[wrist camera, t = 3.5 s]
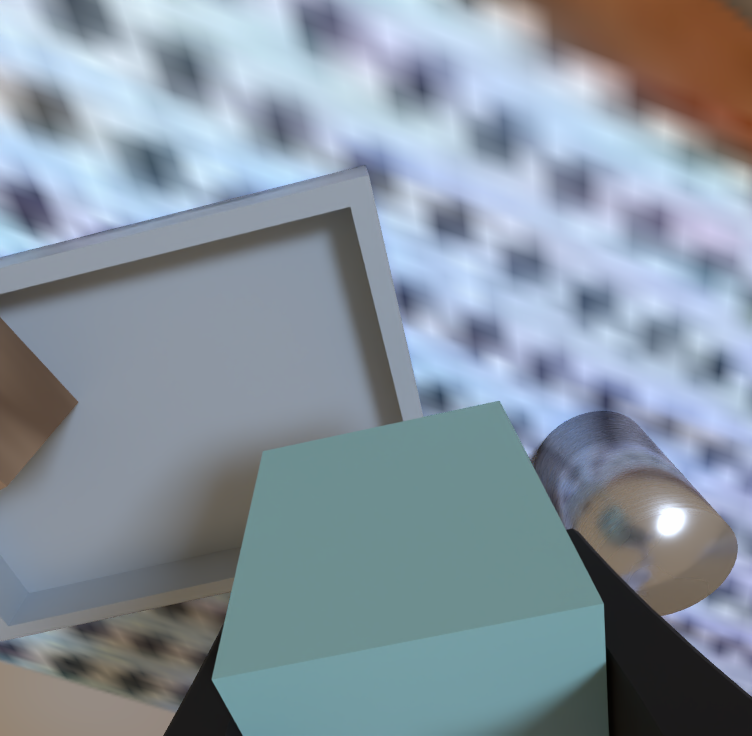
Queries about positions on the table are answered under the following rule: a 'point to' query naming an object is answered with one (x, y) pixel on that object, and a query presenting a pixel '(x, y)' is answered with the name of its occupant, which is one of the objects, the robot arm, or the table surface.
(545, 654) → the teal block
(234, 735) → the robot arm
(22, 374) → the walnut cube
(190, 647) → the table surface
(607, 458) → the cylinder
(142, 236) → the tray
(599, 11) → the table surface
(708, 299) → the table surface
